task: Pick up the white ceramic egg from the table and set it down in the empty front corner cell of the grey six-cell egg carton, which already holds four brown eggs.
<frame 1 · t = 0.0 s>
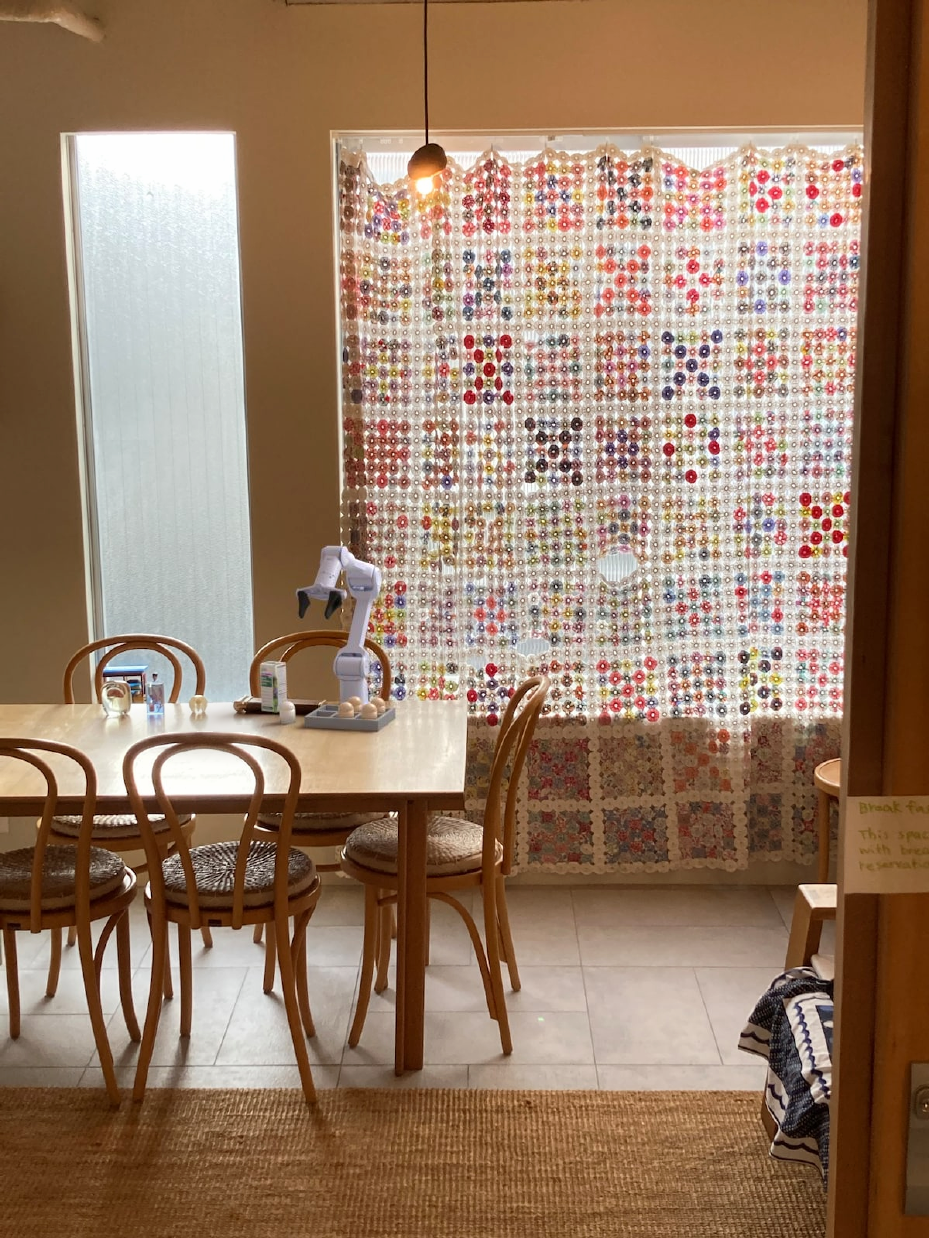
hand: (313, 616, 318), 32 cm above the table, tool tilted 50°, fingers open, 7 cm apart
egg carton: (350, 722, 331), on the table
white egg: (287, 722, 333), on the table
syrup box: (274, 710, 348), on the table
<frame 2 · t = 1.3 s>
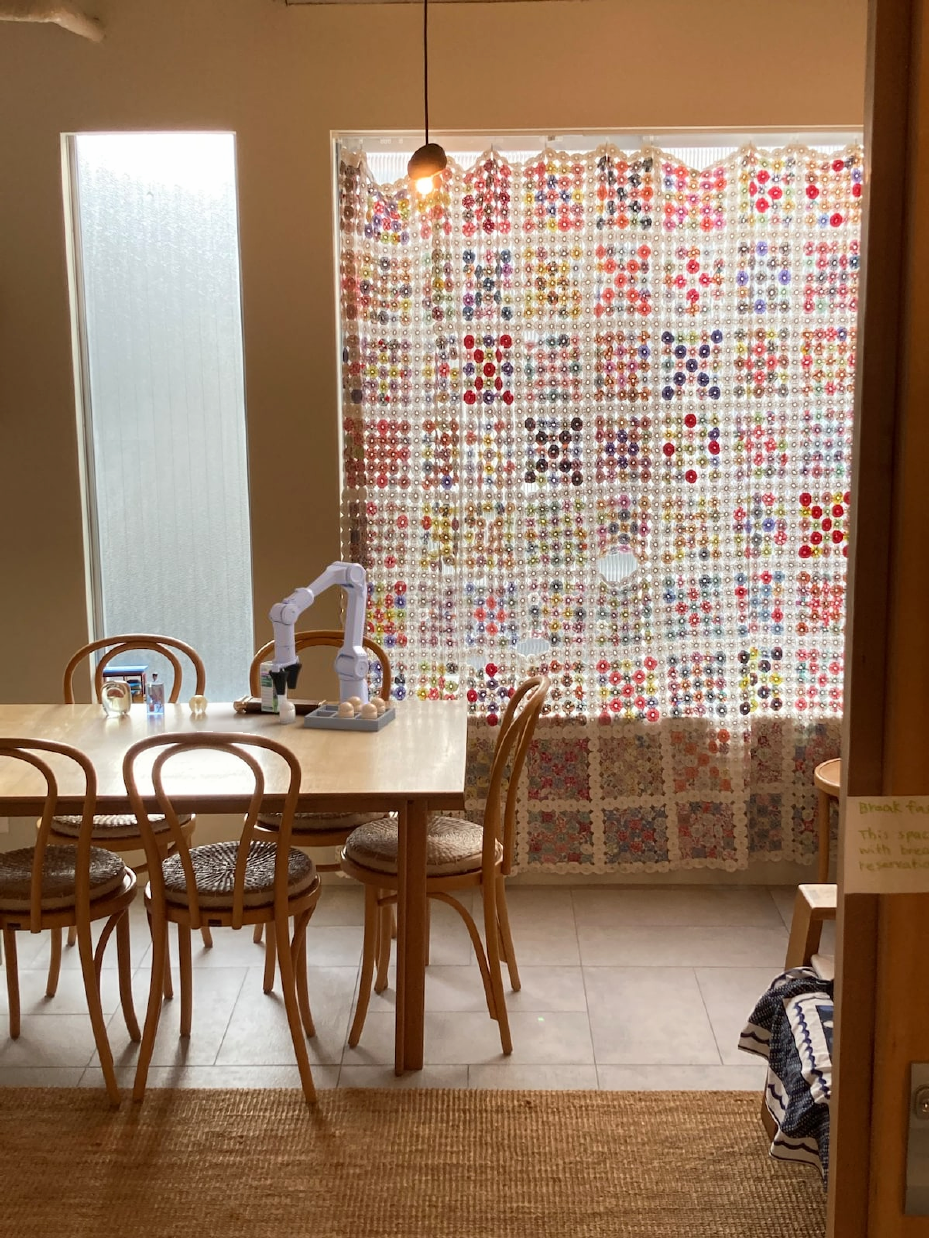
hand: (286, 691, 331), 9 cm above the table, tool pointing down, fingers open, 7 cm apart
nothing on the table moved.
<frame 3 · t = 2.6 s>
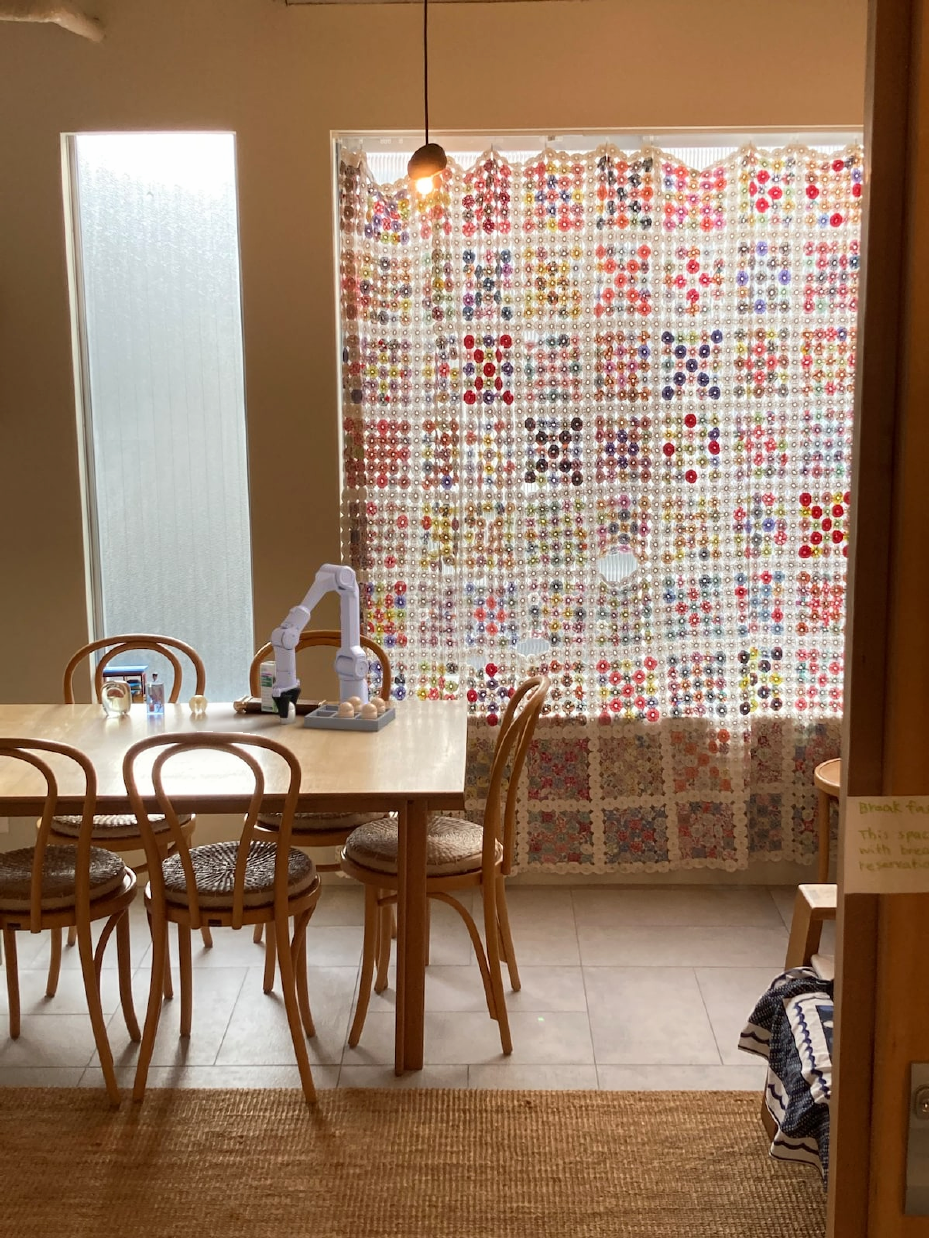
hand: (287, 715, 332), 2 cm above the table, tool pointing down, fingers closed on white egg, 4 cm apart
white egg: (287, 722, 333), on the table, touching gripper
everything else where it was.
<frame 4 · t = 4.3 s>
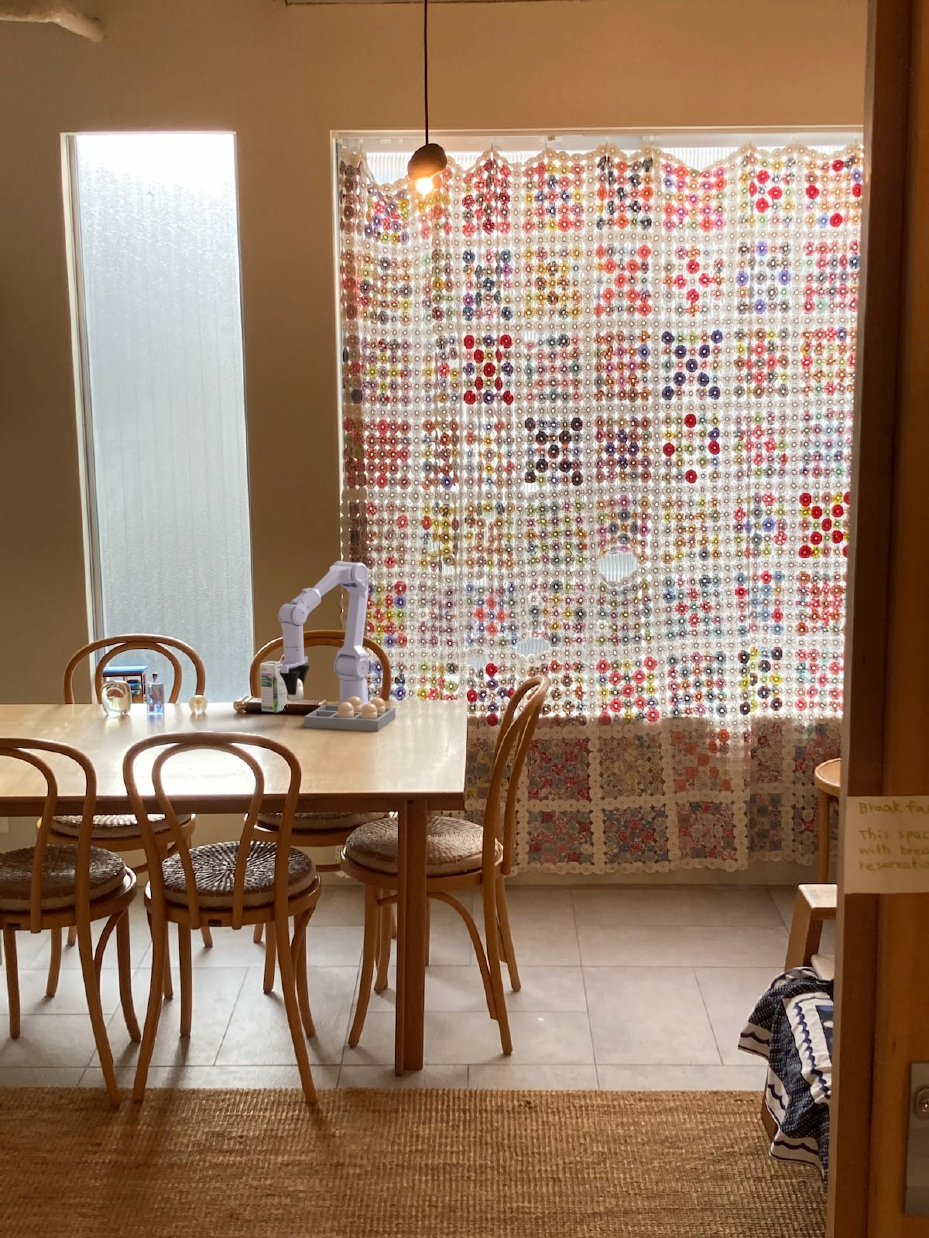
hand: (295, 692, 331), 9 cm above the table, tool pointing down, fingers closed on white egg, 4 cm apart
white egg: (295, 699, 331), point 7 cm above the table, touching gripper
everything else where it was.
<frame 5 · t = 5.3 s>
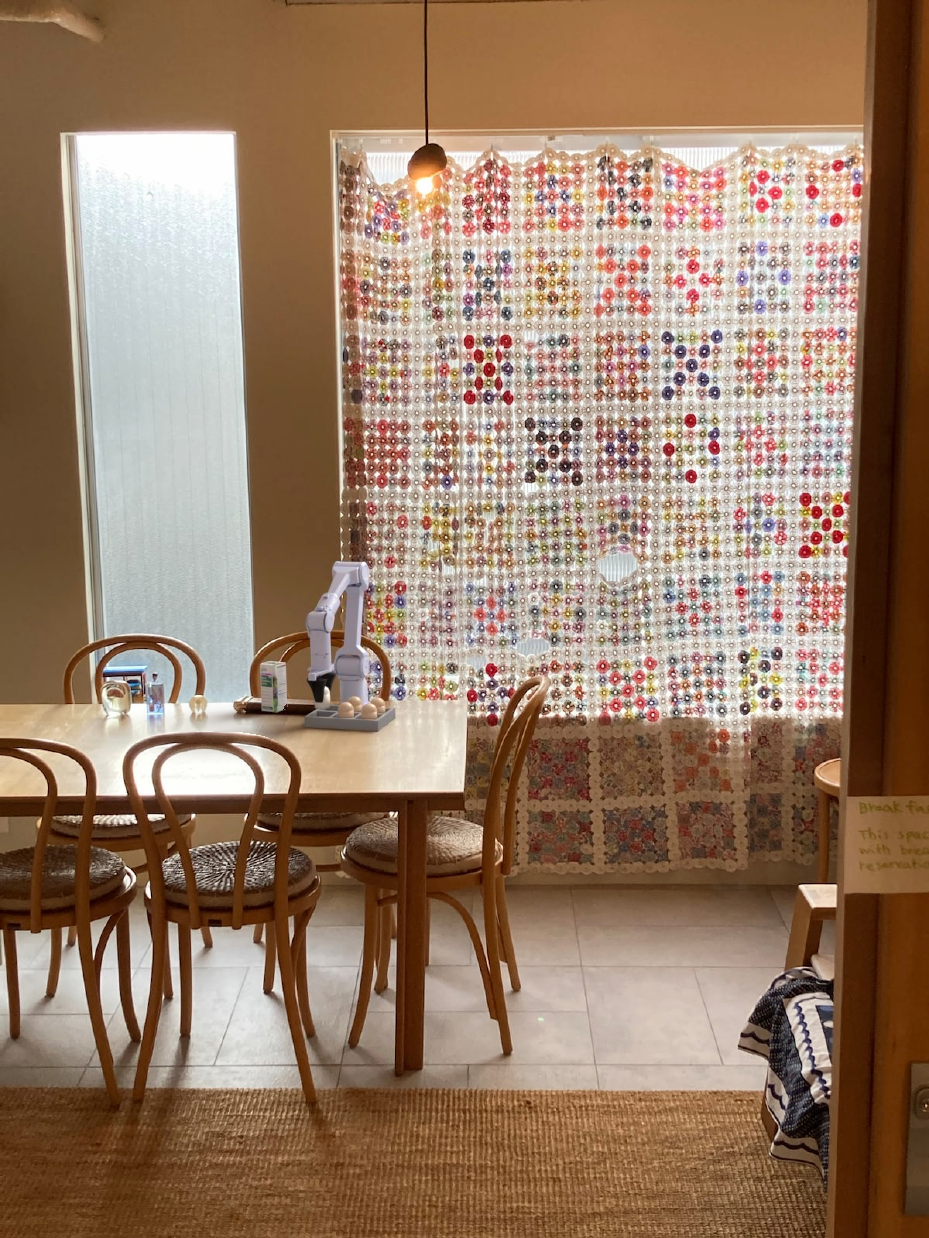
hand: (322, 700, 329), 7 cm above the table, tool pointing down, fingers closed on white egg, 4 cm apart
white egg: (322, 706, 329), point 5 cm above the table, touching gripper
everything else where it was.
when the fingers open (5 cm above the table, at t = 6.1 s): white egg drops 2 cm, resting on egg carton.
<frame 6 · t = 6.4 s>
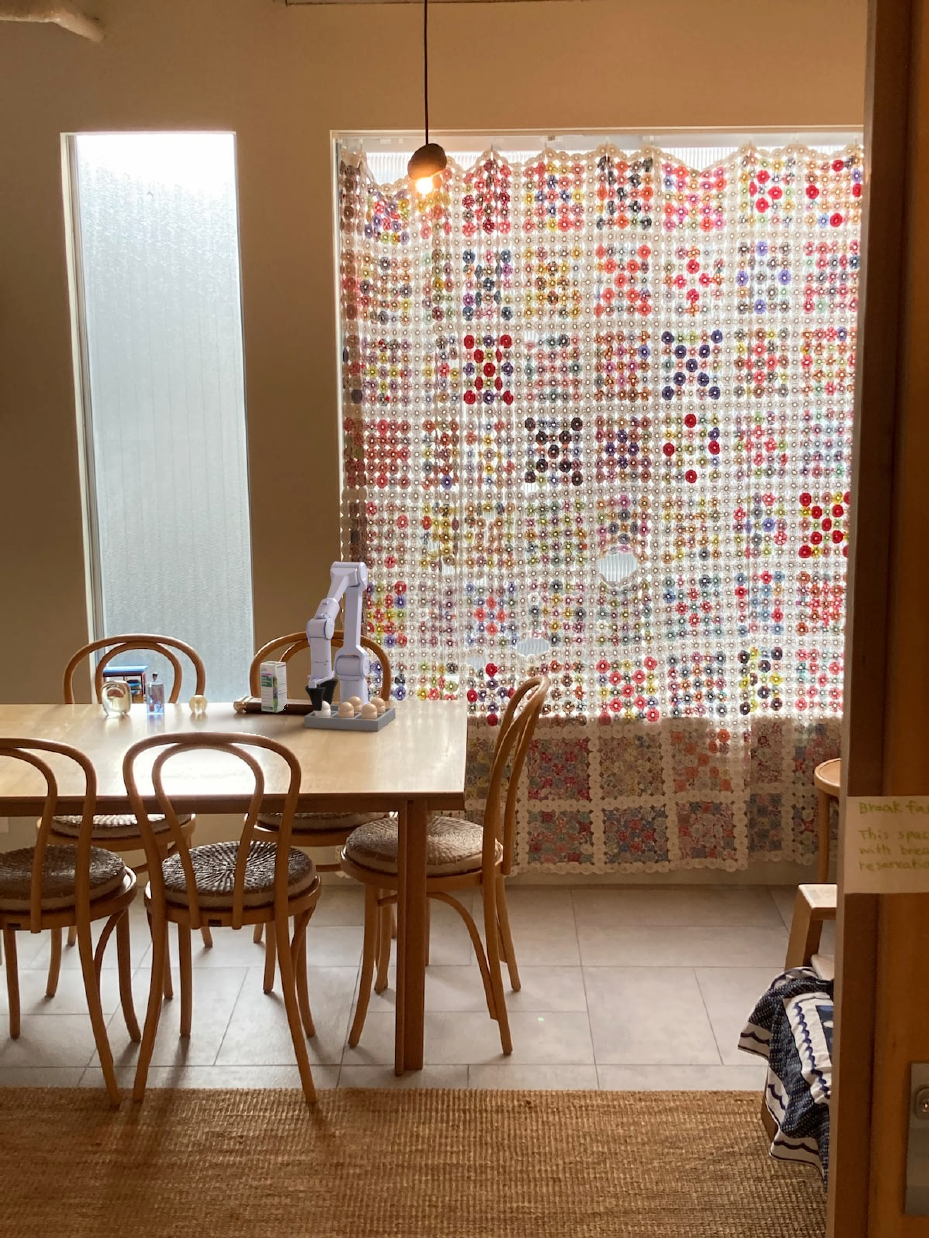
hand: (322, 707, 329), 5 cm above the table, tool pointing down, fingers open, 7 cm apart
white egg: (323, 722, 330), point 1 cm above the table, touching egg carton
everything else where it was.
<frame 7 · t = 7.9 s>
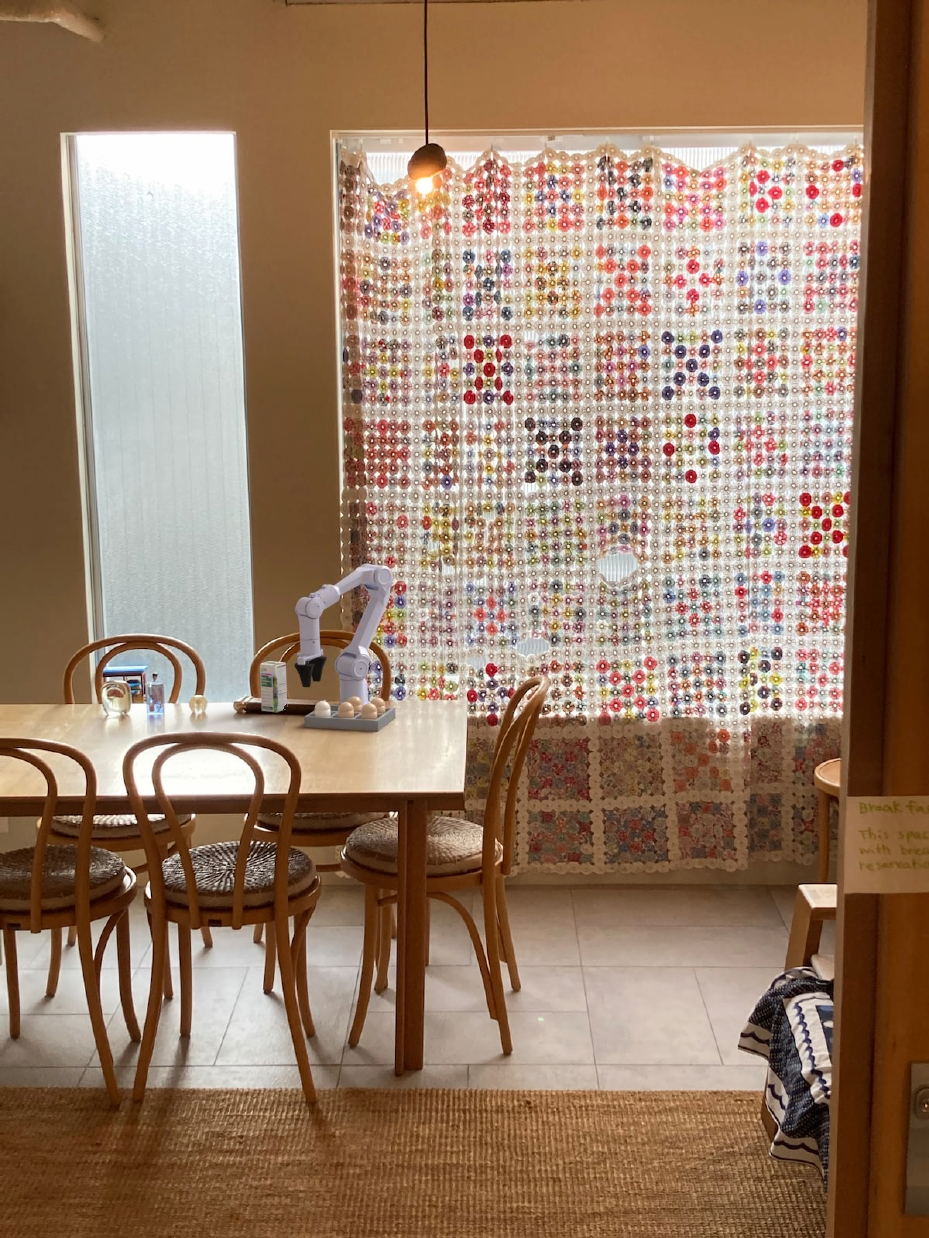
hand: (311, 684, 339), 9 cm above the table, tool pointing down, fingers open, 7 cm apart
nothing on the table moved.
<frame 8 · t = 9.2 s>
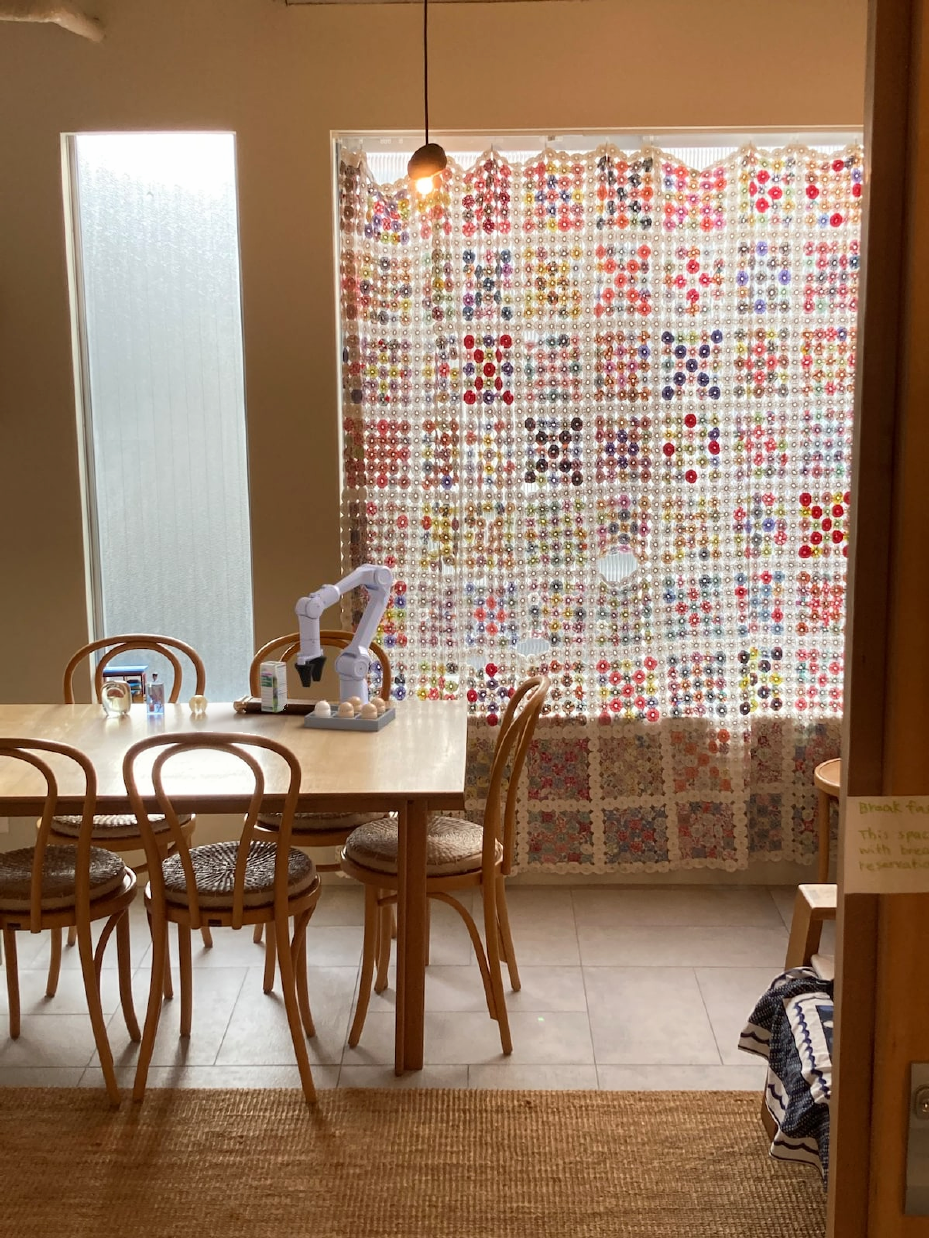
hand: (311, 684, 339), 9 cm above the table, tool pointing down, fingers open, 7 cm apart
nothing on the table moved.
at the end: white egg 0.2 cm from the target spot on the egg carton, point 0.6 cm above the egg carton's base; white egg tilted 0°; the gripper is holding nothing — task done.
